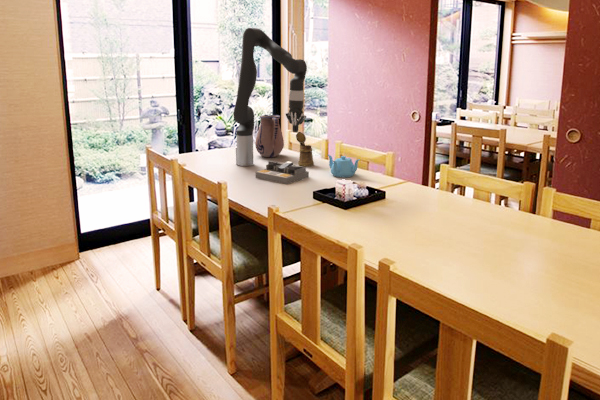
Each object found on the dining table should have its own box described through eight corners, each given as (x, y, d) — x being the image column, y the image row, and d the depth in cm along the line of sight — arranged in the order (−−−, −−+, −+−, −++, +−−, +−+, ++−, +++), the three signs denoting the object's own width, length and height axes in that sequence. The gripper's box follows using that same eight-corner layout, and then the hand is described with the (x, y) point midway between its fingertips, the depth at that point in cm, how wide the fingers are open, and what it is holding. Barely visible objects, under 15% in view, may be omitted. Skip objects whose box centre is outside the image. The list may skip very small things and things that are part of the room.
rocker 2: (278, 170, 267) (278, 167, 267) (288, 163, 273) (287, 160, 272) (283, 171, 265) (283, 168, 265) (293, 164, 271) (292, 161, 270)
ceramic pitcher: (274, 152, 331) (274, 113, 324) (292, 157, 314) (292, 116, 307) (250, 155, 322) (249, 114, 315) (267, 161, 305) (266, 119, 298)
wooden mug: (305, 161, 306) (305, 131, 301) (316, 165, 294) (317, 134, 289) (292, 162, 302) (292, 132, 297) (302, 167, 290) (303, 135, 285)
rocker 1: (268, 164, 271) (268, 161, 271) (277, 166, 277) (278, 163, 277) (273, 165, 269) (273, 162, 268) (282, 167, 275) (283, 164, 275)
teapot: (353, 171, 281) (353, 153, 278) (360, 178, 267) (361, 158, 264) (326, 172, 279) (327, 153, 276) (332, 179, 265) (333, 159, 262)
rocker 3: (288, 169, 263) (288, 165, 262) (298, 169, 269) (298, 165, 269) (294, 170, 260) (294, 166, 260) (303, 170, 267) (303, 166, 267)
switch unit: (255, 177, 267) (255, 167, 266) (278, 171, 281) (277, 161, 279) (286, 184, 255) (286, 173, 253) (308, 177, 269) (308, 166, 267)
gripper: (282, 98, 269) (281, 131, 274) (301, 100, 261) (300, 134, 266) (291, 97, 274) (290, 129, 279) (310, 99, 266) (309, 133, 271)
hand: (295, 132), depth 273 cm, fingers closed
